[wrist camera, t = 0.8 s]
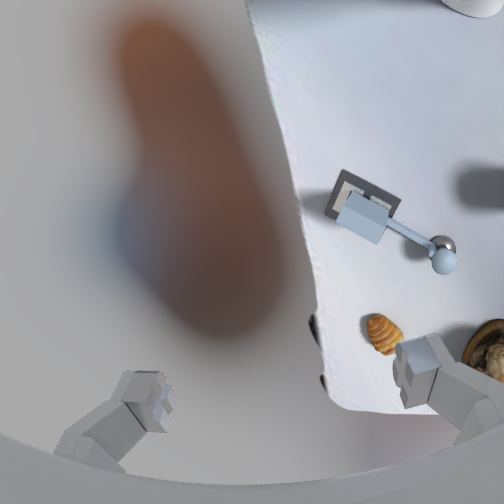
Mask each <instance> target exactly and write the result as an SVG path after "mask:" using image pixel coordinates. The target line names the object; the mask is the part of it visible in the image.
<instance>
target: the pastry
mask: <svg viewBox="0 0 504 504" xmlns="http://www.w3.org/2000/svg"><path fill="white" fill-rule="evenodd" d="M366 326H367V329H368V331H367V332H368V334H369V338H370V340H371V343H372V344H373V346H375V349H376V350H377V351H378V352H381V353H382V354H383V355H386V356H387V355H391V354H393V353H395V346H396V344H397V343H398V342H402V341H404V338H403V334H402V332H401V330H400V329H399V328H398V327H397V326H396V325H395V324H394V323H393V322H391V321H390V320H389V319H388V318H386V317H385V316H382V315H380V314H378V315H374V316H372V317H371V318H370V319H369V320H368V322H367V325H366Z"/></svg>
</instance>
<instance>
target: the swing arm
mask: <svg viewBox="0 0 504 504" xmlns="http://www.w3.org/2000/svg"><path fill="white" fill-rule="evenodd" d="M388 215H389V210H387V209H385V208H383V207H381V206H379V205H378V204H376V203H374V202H372V201H370V200H368V199H366V198H365V197H363V196H361V195H359V194H357V193H355V192H353V191H352V193H351V194H350V196H349V198H348V199H347V201H346V202H345V204H344V205H343V207H342V209H341V212H340V214H339V216H338V218H337V220H336V222H335V223H337V224H339V225H341V226H343V227H345V228H347V229H348V230H350V231H352V232H354V233H356V234H358V235H360V236H361V237H363V238H365V239H367V240H369V241H370V242H372V243H374V244H376V245H377V243H378V242H379V240H380V238H381V236H382V234H383V233H384V231H385V229H386V225H388V226H389V227H391V228H393V229H395V230H396V231H398V232H400V233H402V234H403V235H405V236H407V237H409V238H410V239H412V240H414V241H415V242H417V243H419V244H420V245H422V246H424V247H425V248H427V249H428V256H430V257H432V267H433V269H434V271H435V272H436V273H438V274H441V275H447V274H449V273H451V272H452V271H453V270H454V269H455V267H456V264H457V259H456V256H455V254H454V252H453V251H452V250H450V249H447V248H442V249H439V250H437V251H436V247H435V244H434V243H432V242H431V241H429V240H427V239H426V238H424V237H422V236H421V235H419V234H417V233H416V232H414V231H412V230H411V229H409V228H407V227H405V226H404V225H402V224H400V223H398V222H397V221H395V220H393V219H391V218H390V217H388Z"/></svg>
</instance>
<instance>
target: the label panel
mask: <svg viewBox="0 0 504 504" xmlns="http://www.w3.org/2000/svg"><path fill="white" fill-rule="evenodd" d="M352 191H353V192H355V193H357V194H359V195H361V196H363V197H365V198H366V199H368V200H370V201H372V202H374V203H376V204H378V205H379V206H381V207H383V208H385V209H387V210H389V215H388V217H390V218H391V219H392V217H393V215H394V213H395V211H396V209H397V207H398V205H399V203H400V201H401V199H399V198H397V197H396V196H394V195H392V194H390V193H388V192H387V191H385V190H383V189H381V188H379V187H377V186H375V185H373V184H372V183H370V182H368V181H366V180H364V179H362V178H360V177H358V176H356V175H354V174H352V173H350V172H348V171H346V170H344V169H343V171H342V174H341V176H340V178H339V181H338V183H337V185H336V188H335V190H334V192H333V195H332V197H331V199H330V201H329V204H328V206H327V208H326V211H325V213H324V214H325V215H327V216H329V217H331V218H333V219H334V220H337V218H338V216H339V214H340V212H341V209H342V207H343V205H344V204H345V202H346V201H347V199H348V198H349V196H350V194H351V193H352ZM387 226H388V225H386V228H387ZM385 230H386V229H385ZM382 235H383V234H382ZM381 237H382V236H381Z"/></svg>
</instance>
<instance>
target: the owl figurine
mask: <svg viewBox="0 0 504 504" xmlns="http://www.w3.org/2000/svg"><path fill="white" fill-rule="evenodd" d="M462 363H463V364H465V365H467V366H469V367H471V368H473V369H475V370H477V371H479V372H481V373H483V374H485V375H487V376H489V377H491V378H493V379H495V380H497V381H499V382H501V383H503V384H504V319H503V320H502V319H496V320H492V321H490V322H488V323H486V324H485V325H483V326H482V327H481V328H480V329H479V330H478V331H477V332H476V333H475V334H474V335H473V337H472V338H471V339H470V341H469V343H468V345H467V347H466V349H465V352H464V354H463V359H462Z"/></svg>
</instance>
